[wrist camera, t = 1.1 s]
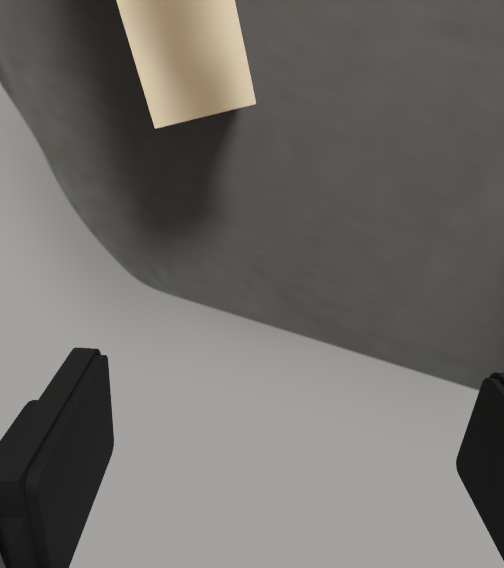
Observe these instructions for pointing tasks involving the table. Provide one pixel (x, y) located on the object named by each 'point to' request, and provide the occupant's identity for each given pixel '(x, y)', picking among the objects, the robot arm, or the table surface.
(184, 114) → the beige wooden block
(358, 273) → the table surface
